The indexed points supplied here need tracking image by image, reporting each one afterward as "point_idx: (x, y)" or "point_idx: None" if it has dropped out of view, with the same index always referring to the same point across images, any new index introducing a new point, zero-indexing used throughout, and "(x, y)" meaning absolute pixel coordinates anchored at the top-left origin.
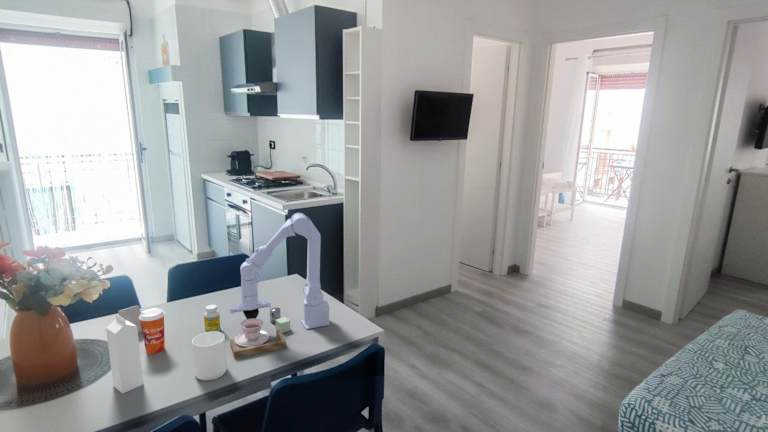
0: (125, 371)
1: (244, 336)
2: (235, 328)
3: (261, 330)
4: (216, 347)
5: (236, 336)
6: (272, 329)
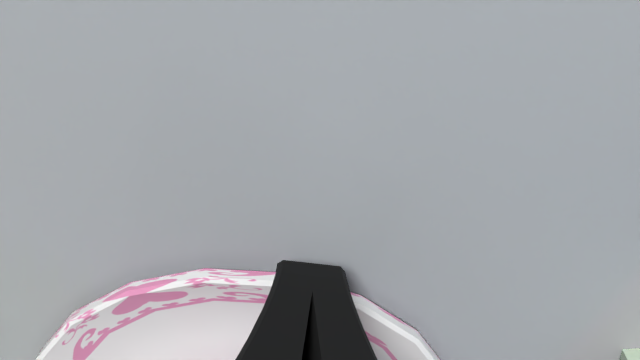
0: None
1: (170, 349)
2: (61, 29)
3: (423, 356)
4: None
5: (55, 343)
6: (583, 337)
